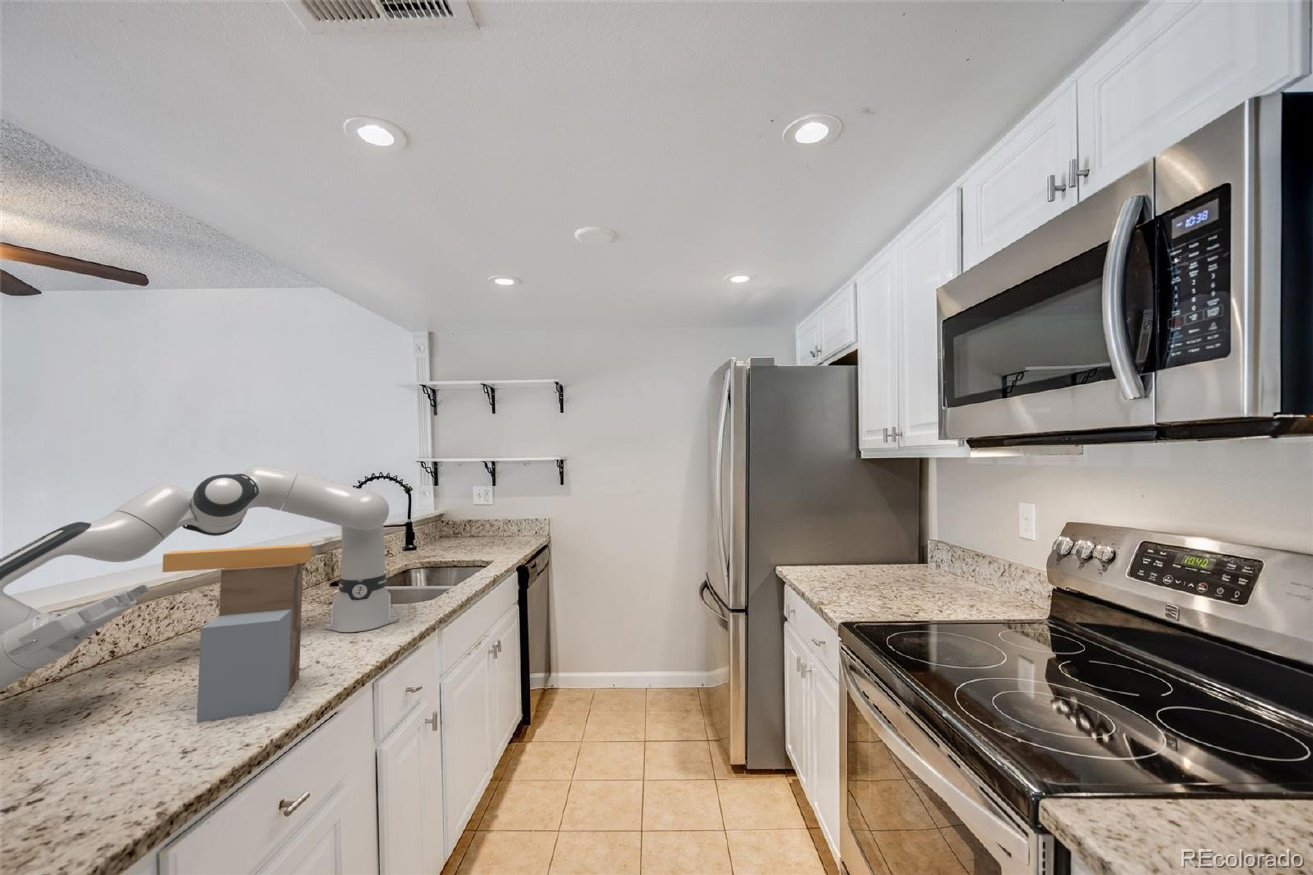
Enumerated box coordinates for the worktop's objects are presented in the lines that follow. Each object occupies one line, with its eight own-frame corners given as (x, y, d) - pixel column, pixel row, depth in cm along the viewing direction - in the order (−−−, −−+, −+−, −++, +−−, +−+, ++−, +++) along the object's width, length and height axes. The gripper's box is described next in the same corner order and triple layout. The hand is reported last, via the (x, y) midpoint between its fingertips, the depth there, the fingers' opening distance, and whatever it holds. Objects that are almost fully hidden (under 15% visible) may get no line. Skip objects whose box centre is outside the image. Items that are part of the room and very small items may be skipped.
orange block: (171, 568, 102) (172, 551, 102) (311, 560, 111) (311, 544, 111) (162, 572, 99) (163, 554, 99) (306, 562, 108) (307, 546, 108)
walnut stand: (231, 686, 107) (236, 563, 108) (299, 677, 111) (303, 558, 113) (215, 703, 99) (221, 570, 101) (288, 692, 104) (292, 565, 105)
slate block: (215, 703, 99) (219, 616, 100) (288, 692, 104) (291, 609, 105) (196, 722, 92) (200, 628, 93) (276, 710, 97) (279, 620, 97)
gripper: (-13, 642, 84) (87, 592, 88) (73, 609, 102) (151, 569, 107) (12, 673, 84) (109, 622, 89) (92, 634, 103) (169, 594, 108)
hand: (132, 593), depth 98 cm, fingers open, 8 cm apart
